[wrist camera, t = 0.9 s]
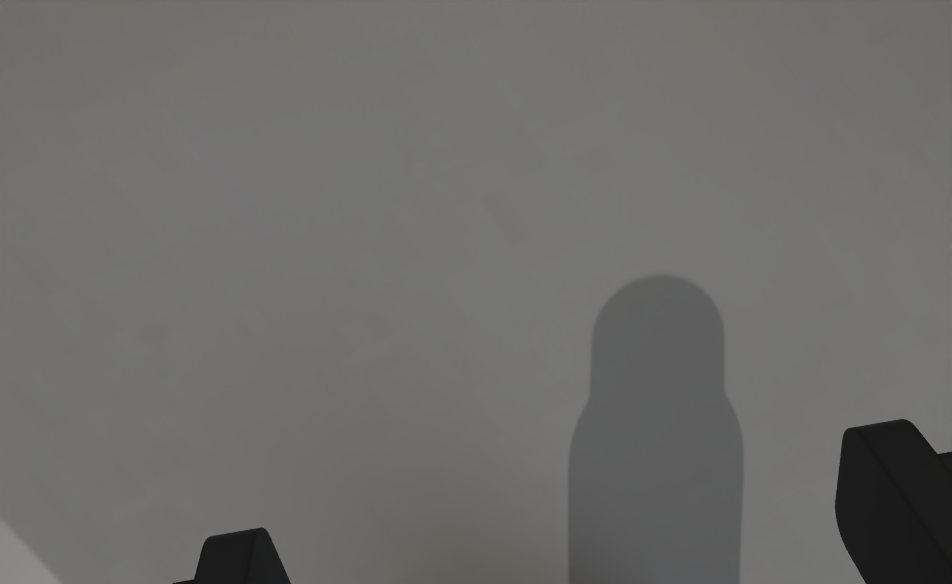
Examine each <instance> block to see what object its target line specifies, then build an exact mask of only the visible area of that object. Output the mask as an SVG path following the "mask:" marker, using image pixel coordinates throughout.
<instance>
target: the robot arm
mask: <svg viewBox="0 0 952 584" xmlns="http://www.w3.org/2000/svg"><path fill="white" fill-rule="evenodd" d="M835 512H836V519H837V524H838V528H839V532H840V535H841V538H842V540H843V543H844V545H845V547H846V549H847V551H848V553H849V555H850V556H851V558H852V560H853V562H854V563H855V565H856V567H857V569H858V570H859V572H860V574H861V576H862V577H863V579H864V581H865V583H866V584H952V452H947V453H941V454H937V453H936V452H935V451H934V449H933V448H932V447H931V446H930V444H929V443H928V442H927V440H926V439H925V438H924V437H923V435H922V434H921V433H920V432H919V430H918V429H917V428H916V427H915V426H914V425H913V424H912V423H911V422H910V421H908V420H905V419H899V420H894V421H888V422H882V423H876V424H870V425H865V426H859V427H853V428H848V429H847V430H846V431H845V432H844V435H843V440H842V448H841V457H840V465H839V474H838V483H837V492H836V501H835ZM173 584H291V583H290V580H289V578H288V576H287V574H286V571H285V569H284V567H283V565H282V562H281V560H280V558H279V556H278V553H277V551H276V549H275V546H274V544H273V542H272V540H271V537H270V535H269V533H268V532H267V530H266V529H264V528H256V529H250V530H245V531H239V532H233V533H227V534H221V535H216V536H210V537H208V538H207V539H206V541H205V543H204V545H203V547H202V551H201V555H200V559H199V562H198V566H197V570H196V574H195V578H194V580H188V581H182V582H177V583H173Z"/></svg>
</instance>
